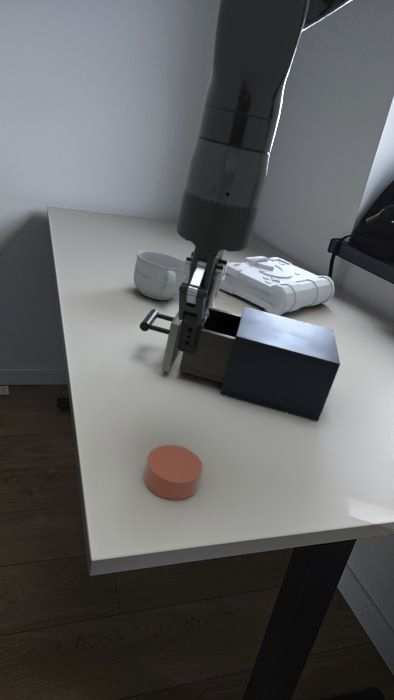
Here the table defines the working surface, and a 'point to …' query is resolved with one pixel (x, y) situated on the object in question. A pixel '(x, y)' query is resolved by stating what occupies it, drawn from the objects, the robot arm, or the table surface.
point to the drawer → (212, 344)
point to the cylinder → (172, 472)
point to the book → (276, 284)
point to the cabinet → (282, 364)
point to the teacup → (158, 274)
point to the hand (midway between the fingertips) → (187, 349)
